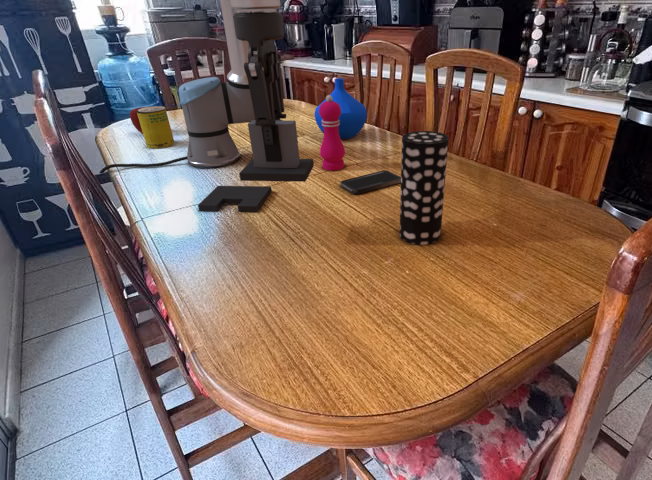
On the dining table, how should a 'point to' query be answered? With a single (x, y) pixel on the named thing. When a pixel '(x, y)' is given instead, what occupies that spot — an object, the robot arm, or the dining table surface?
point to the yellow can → (155, 127)
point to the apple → (136, 119)
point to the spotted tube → (422, 186)
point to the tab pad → (277, 172)
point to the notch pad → (236, 198)
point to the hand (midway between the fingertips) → (276, 157)
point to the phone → (370, 182)
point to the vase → (345, 112)
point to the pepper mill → (331, 136)
